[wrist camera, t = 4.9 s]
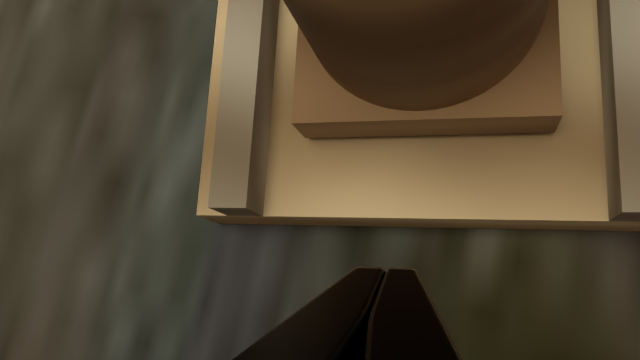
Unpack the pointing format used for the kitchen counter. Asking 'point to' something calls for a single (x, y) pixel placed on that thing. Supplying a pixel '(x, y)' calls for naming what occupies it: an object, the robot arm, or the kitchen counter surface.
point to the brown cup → (426, 67)
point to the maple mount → (424, 141)
